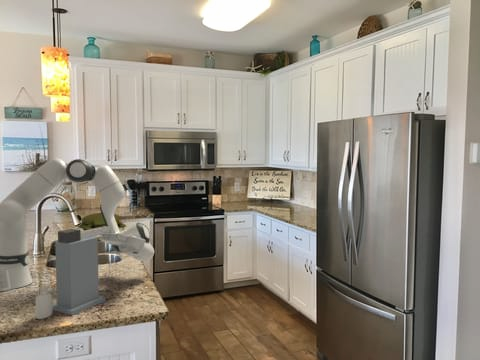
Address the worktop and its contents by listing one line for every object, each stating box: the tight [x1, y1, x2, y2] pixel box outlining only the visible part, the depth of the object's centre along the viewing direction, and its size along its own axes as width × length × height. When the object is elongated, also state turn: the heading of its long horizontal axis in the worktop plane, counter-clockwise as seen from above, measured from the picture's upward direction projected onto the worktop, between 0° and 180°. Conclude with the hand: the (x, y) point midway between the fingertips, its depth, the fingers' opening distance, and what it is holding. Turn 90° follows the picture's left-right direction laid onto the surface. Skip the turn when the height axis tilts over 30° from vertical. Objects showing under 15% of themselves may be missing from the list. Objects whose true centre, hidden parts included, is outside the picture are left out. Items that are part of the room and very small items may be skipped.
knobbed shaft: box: [57, 226, 110, 244], centre depth 154 cm, size 22×5×4 cm, turn 153°
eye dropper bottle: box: [35, 283, 54, 320], centre depth 141 cm, size 4×6×12 cm
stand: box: [52, 236, 106, 316], centre depth 151 cm, size 16×12×26 cm
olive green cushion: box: [80, 212, 127, 230], centre depth 314 cm, size 35×31×10 cm
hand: (108, 233), depth 165 cm, fingers open, 8 cm apart
